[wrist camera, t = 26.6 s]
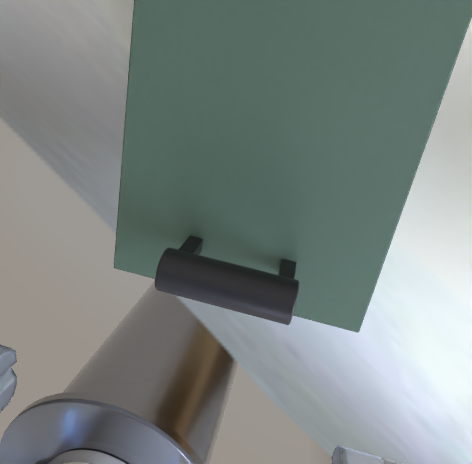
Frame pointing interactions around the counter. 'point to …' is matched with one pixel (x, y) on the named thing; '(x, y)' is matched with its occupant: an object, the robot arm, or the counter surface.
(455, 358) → the counter surface
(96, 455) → the robot arm
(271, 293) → the lid
